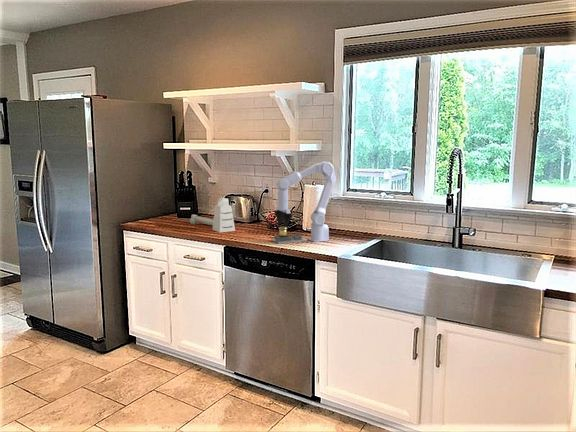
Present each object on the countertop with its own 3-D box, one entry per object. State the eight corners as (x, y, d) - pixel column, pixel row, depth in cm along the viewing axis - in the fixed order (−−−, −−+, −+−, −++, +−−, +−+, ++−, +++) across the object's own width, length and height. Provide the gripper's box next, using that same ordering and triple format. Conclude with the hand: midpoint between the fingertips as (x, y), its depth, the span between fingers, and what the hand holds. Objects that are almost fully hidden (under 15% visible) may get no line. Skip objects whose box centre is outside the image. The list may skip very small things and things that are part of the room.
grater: (227, 228, 306) (226, 197, 302) (235, 230, 297) (234, 198, 294) (212, 229, 300) (211, 198, 297) (219, 232, 291) (219, 199, 288)
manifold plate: (300, 238, 275) (300, 233, 274) (307, 241, 267) (307, 235, 266) (271, 240, 267) (271, 235, 267) (277, 243, 259) (277, 238, 259)
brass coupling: (285, 238, 268) (285, 226, 267) (288, 240, 263) (288, 227, 262) (277, 239, 266) (277, 226, 265) (280, 240, 262) (280, 228, 261)
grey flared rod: (216, 221, 307) (188, 213, 320) (215, 231, 309) (187, 222, 322) (221, 220, 312) (194, 212, 325) (220, 230, 313) (193, 221, 326)
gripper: (271, 199, 267) (271, 223, 269) (281, 202, 254) (281, 227, 256) (282, 198, 270) (282, 222, 272) (293, 201, 257) (293, 226, 259)
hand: (283, 224), depth 264 cm, fingers open, 7 cm apart
